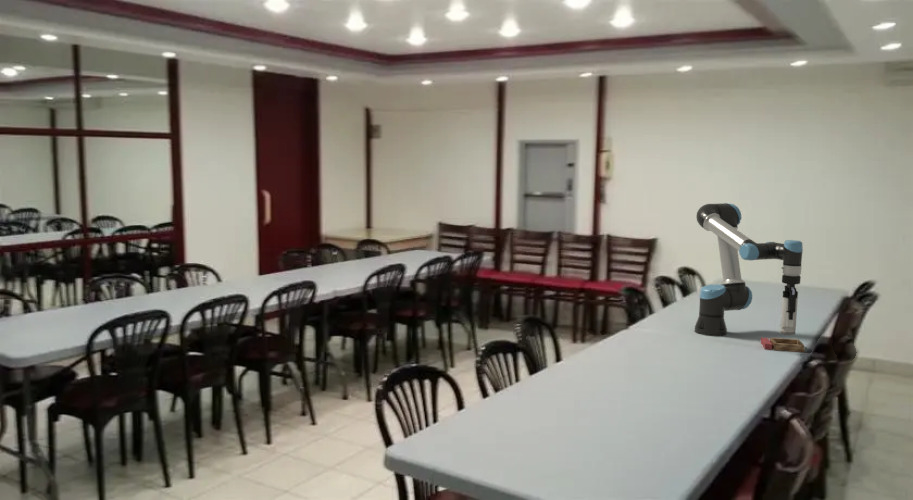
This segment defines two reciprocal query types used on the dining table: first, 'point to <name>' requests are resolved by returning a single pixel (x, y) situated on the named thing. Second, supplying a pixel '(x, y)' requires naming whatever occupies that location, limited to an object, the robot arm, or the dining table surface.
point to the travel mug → (784, 328)
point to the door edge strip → (766, 343)
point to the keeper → (787, 345)
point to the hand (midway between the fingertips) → (788, 324)
